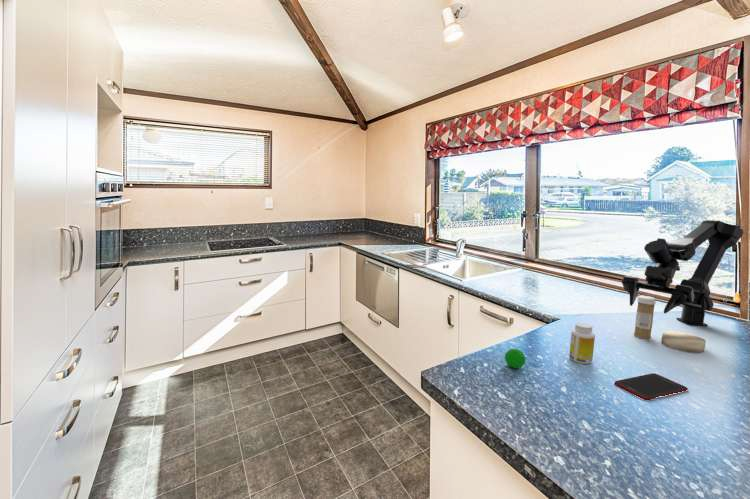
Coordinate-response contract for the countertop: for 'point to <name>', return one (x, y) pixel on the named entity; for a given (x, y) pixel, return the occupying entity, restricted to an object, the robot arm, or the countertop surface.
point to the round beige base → (683, 341)
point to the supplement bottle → (582, 343)
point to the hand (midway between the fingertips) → (647, 308)
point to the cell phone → (650, 386)
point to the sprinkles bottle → (644, 317)
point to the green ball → (515, 358)
